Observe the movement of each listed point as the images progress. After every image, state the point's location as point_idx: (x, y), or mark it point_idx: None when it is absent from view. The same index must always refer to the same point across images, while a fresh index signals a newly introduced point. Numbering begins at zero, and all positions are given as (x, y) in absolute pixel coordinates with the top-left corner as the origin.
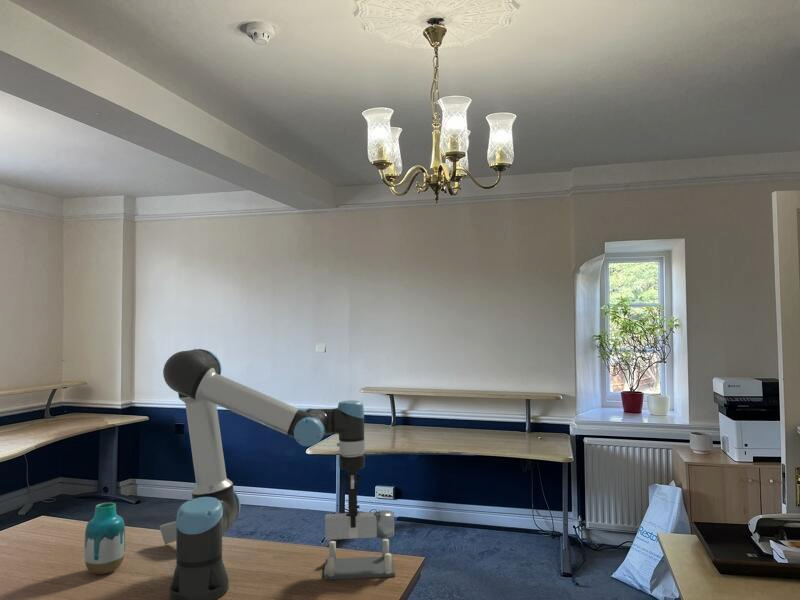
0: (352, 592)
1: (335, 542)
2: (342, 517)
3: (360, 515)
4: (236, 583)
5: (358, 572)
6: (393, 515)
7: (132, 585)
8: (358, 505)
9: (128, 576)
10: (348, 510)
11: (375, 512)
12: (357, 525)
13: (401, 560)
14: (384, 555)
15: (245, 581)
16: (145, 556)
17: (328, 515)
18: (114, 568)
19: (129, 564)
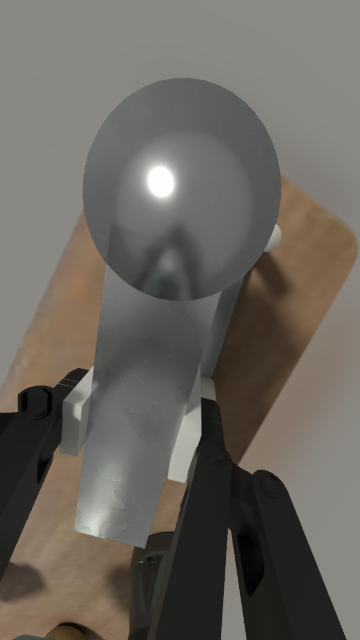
0: (297, 353)
1: None
2: (156, 486)
3: (155, 391)
4: (163, 520)
5: (216, 320)
6: (240, 107)
7: (125, 612)
8: (21, 401)
9: (93, 613)
10: (75, 455)
11: (122, 270)
12: (200, 391)
13: None
14: (266, 251)
15: (159, 509)
16: (24, 597)
17: (99, 527)
18: (79, 636)
19: (51, 610)
